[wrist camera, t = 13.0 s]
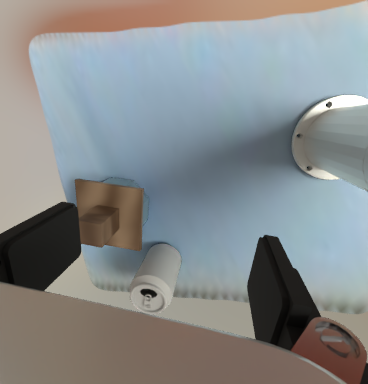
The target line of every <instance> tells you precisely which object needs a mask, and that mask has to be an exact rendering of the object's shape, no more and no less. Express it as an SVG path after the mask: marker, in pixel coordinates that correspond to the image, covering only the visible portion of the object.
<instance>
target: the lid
mask: <svg viewBox="0 0 368 384" xmlns="http://www.w3.org/2000/svg"><path fill="white" fill-rule="evenodd" d="M75 187H76V199H77V208H78V215H79V228H80V240H81V244H86V245H91V246H96V247H103V246H104V245H109V246H114V247H120V248H125V249H131V250H136V251H141V249H142V223H143V195H144V189H143V188H136V187H130V186H123V185H116V184H109V183H103V182H96V181H89V180H83V179H76V180H75Z"/></svg>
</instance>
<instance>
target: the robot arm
mask: <svg viewBox="0 0 368 384" xmlns="http://www.w3.org/2000/svg"><path fill="white" fill-rule="evenodd" d="M326 103H327V104H328V105H327V107H326ZM297 134H299V137H297ZM291 148H292V154H293V157H294V160H295V161H296V163H297V165H298V166H299V167H300V168H301V169H302V170H303V171H305V172H306V173H307V174H309V175H311V176H313V177H316V178H319V179H325V180H337V179H342V180H344V181H346V182H349V183H351V184H353V185H355V186H357V187H359V188H361V189H363V190H365V191H367V192H368V99H366V98H364V97H362V96H357V95H340V96H335V97H331V98H328V99H325V100H323V101H321V102H319V103H317V104H316V105H314V106H313V107H312V108H310V109H309V110H308V111H307V112H306V113H305V114H304V115H303V116H302V118H301V119H300V120H299V122H298V124H297V126H296V127H295V129H294V133H293V136H292V142H291ZM307 166H309V167H308V168H307ZM306 168H307V169H306ZM80 254H81V240H80V228H79V215H78V208H77V207H76V206H75V204H73V203H67V202H60V203H58V204H57V205H55V206H53V207H51V208H49V209H47V210H45V211H43V212H41V213H40V214H37V215H35V216H34V217H32V218H30V219H28V220H26V221H24V222H22V223H20V224H18V225H16V226H14V227H12V228H11V229H9V230H7V231H5V232H3V233H1V234H0V384H368V363H366V361H367V352H366V350H365V347H364V346H363V344H362V343H361V341H360V340H359V338H358V337H357V336H355V334H354V333H353V332H351V331H350V330H349V329H348V328H346V327H345V326H344V325H342V324H340V323H338V322H336V321H334V320H331V319H329V318H324V317H321V315H320V313H319V311H318V309H317V307H316V305H315V304H314V302H313V300H312V298H311V296H310V294H309V292H308V290H307V288H306V286H305V284H304V282H303V280H302V278H301V276H300V275H299V273H298V271H297V270H296V269H295V268H293V267H292V265H291V263H290V261H289V259H288V257H287V255H286V253H285V251H284V249H283V247H282V245H281V243H280V241H279V239H278V237H274V236H268V235H264V237H263V238H262V237H260V238H259V240H258V244H257V248H256V252H255V256H254V260H253V264H252V268H251V272H250V276H249V280H248V285H247V289H248V296H249V302H250V308H251V314H252V320H253V326H254V332H255V338H256V340H255V339H251V338H248V337H244V336H240V335H237V334H233V333H229V332H224V331H220V330H216V329H211V328H207V327H203V326H198V325H194V324H190V323H185V322H181V321H177V320H172V319H168V318H163V317H159V316H155V315H150V314H146V313H141V312H136V311H132V310H128V309H123V308H119V307H114V306H110V305H105V304H101V303H96V302H92V301H87V300H82V299H78V298H73V297H68V296H64V295H60V294H55V293H50V292H45V291H44V290H45V289H46V288H47V287H48V286H49V285H50V284H51V283H52V282H53V281H54V280H55V279H57V277H59V276H60V275H61V274H62V273H63V272H64V271H65V270H66V269H67V268H68V267H69V266H70V265H71V264H72V263H73V262H74V261H75V260H76V259H77V258H78V257H79V256H80Z"/></svg>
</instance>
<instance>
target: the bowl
mask: <svg viewBox="0 0 368 384" xmlns="http://www.w3.org/2000/svg"><path fill="white" fill-rule="evenodd" d="M103 183H109V184H116V185H123V186H130V187H136V188H140V187H139V186H138V185H137V184H136V183H135V182H134V180H127V179H120V178H113V177H111V178H109V179H107V180H105V181H103ZM148 208H149V198H148V197H147V195H146V194H145V193H144V195H143V223H142V227H143V225H144V224H145V223H146V221H147V220H148Z"/></svg>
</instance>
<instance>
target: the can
mask: <svg viewBox="0 0 368 384" xmlns="http://www.w3.org/2000/svg"><path fill="white" fill-rule="evenodd" d="M181 262H182V260H181V256H180V254H179V252H178V251H177V250H176V249H175V248H174V247H172V246H171V245H167V244H157V245H154V246H153V247H151V248H150V249H149V251H148V253H147V255H146V257H145V258H144V260H143V262H142V264H141V266H140V268H139V269H138V271H137V273H136V275H135V277H134V279H133V281H132V282H131V284H130V300H131V302H132V304H133V305H134V307H135V308H136V309H138V310H139V311H141V312H142V313H146V314H153V315H154V314H158V313H160V312H162V311H163V310H164V309H165V307H167V306H168V305H169V304H170V302H171V300H172V296H173V292H174V289H175V285H176V281H177V277H178V274H179V270H180V266H181Z"/></svg>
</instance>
